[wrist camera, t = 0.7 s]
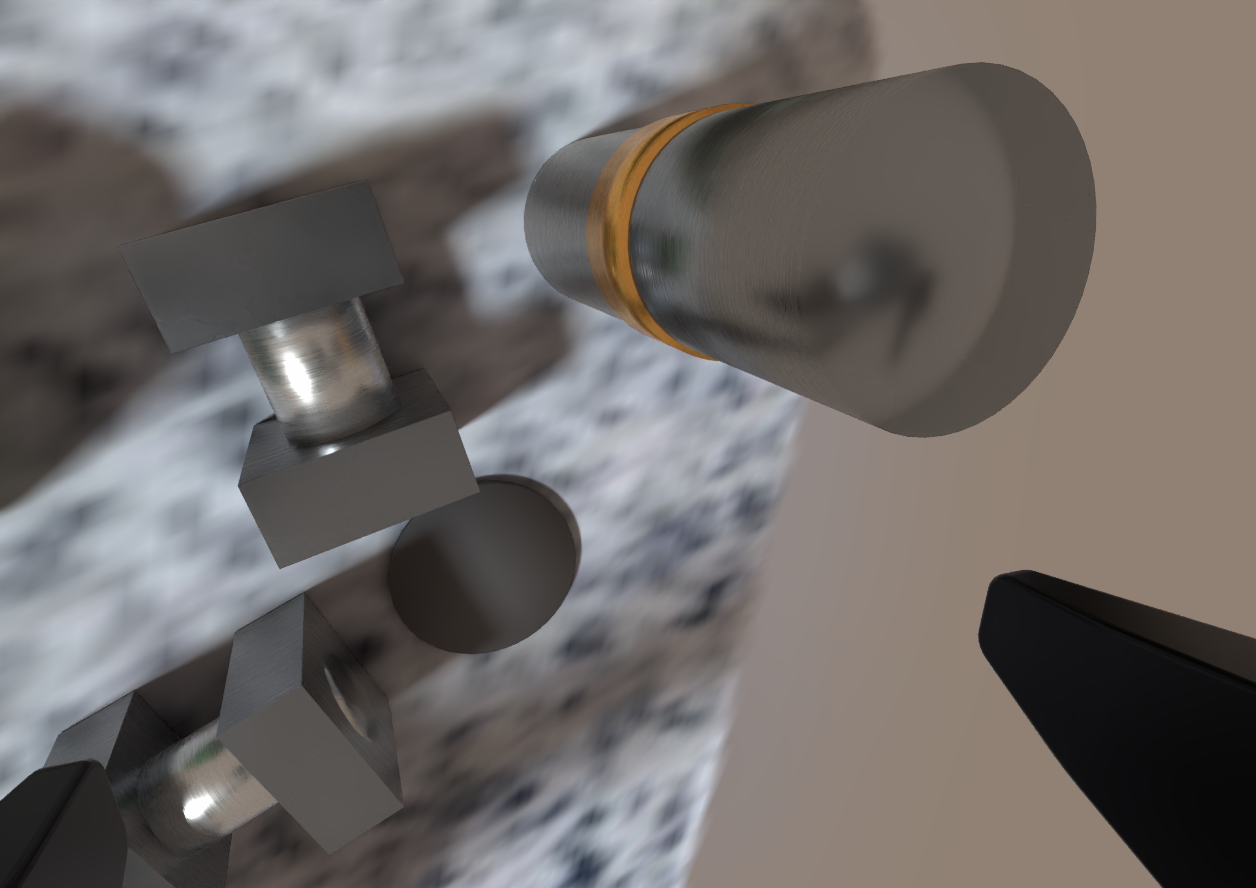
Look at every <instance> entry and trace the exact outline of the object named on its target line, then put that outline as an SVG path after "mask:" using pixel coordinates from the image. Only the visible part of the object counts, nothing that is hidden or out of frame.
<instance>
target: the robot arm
mask: <svg viewBox="0 0 1256 888" xmlns="http://www.w3.org/2000/svg"><path fill="white" fill-rule="evenodd" d="M978 639H979V644H980V648H981V650H982V652H983V654H984V656H985V658H986V659H987V661H988V662H989V663H990V665H991V666H992V668H993V669H994V671H995V672H996V673H997V675H998V676H999V678H1000V679H1001V680H1002V682H1003V684H1004V685H1005V686H1006V688H1007V689H1008V691H1009V692H1010V694H1011V695H1012V696H1013V698H1014V699H1015V701H1016V702H1017V703H1018V705H1019V706H1020V708H1021V709H1022V711H1023V712H1024V713H1025V715H1026V716H1027V718H1028V719H1029V721H1030V722H1031V724H1032V725H1033V726H1034V728H1035V729H1036V731H1037V732H1038V734H1039V735H1040V736H1041V738H1042V739H1043V741H1044V742H1045V744H1046V745H1047V746H1048V748H1049V749H1050V751H1051V752H1052V753H1053V755H1054V756H1055V758H1056V759H1057V760H1058V762H1059V763H1060V764H1061V766H1062V767H1063V768H1064V770H1065V771H1066V772H1067V774H1068V775H1069V776H1070V777H1071V779H1072V780H1073V781H1074V782H1075V784H1076V785H1077V786H1078V787H1079V789H1080V790H1081V791H1082V792H1083V793H1084V795H1085V796H1086V797H1087V798H1088V799H1089V801H1090V802H1091V803H1092V804H1093V806H1094V807H1095V808H1096V809H1097V810H1098V812H1099V813H1100V814H1101V815H1102V816H1103V818H1104V819H1105V820H1106V821H1107V822H1108V824H1109V825H1111V827H1112V828H1113V829H1114V831H1115V832H1116V833H1117V834H1118V836H1119V837H1120V838H1121V839H1122V840H1123V842H1124V843H1125V844H1126V845H1127V846H1128V848H1129V849H1130V850H1131V851H1132V852H1133V853H1134V855H1135V856H1136V857H1137V858H1138V860H1139V861H1140V862H1141V863H1142V864H1143V866H1144V867H1145V868H1146V869H1147V870H1148V872H1149V873H1150V874H1151V875H1152V876H1153V878H1154V879H1155V880H1156V881H1157V882H1158V884H1159V885H1160V886H1161V887H1162V888H1256V639H1255V638H1252V637H1249V636H1245V635H1242V634H1238V633H1236V632H1232V631H1229V630H1225V629H1222V628H1219V627H1216V626H1213V625H1209V624H1206V623H1202V622H1199V621H1196V620H1193V619H1190V618H1186V617H1183V616H1180V615H1177V614H1173V613H1170V612H1167V611H1164V610H1160V609H1157V608H1154V607H1150V606H1147V605H1144V604H1141V603H1137V602H1134V601H1131V600H1128V599H1124V598H1121V597H1118V596H1114V595H1111V594H1108V593H1105V592H1101V591H1098V590H1095V589H1091V588H1088V587H1085V586H1082V585H1079V584H1075V583H1072V582H1068V581H1065V580H1062V579H1059V578H1056V577H1052V576H1049V575H1046V574H1043V573H1039V572H1036V571H1032V570H1020V571H1015V572H1010V573H1005V574H1000V575H998V576H996V577H995V578H994V579H993V580H992V581H991V583H990V584H989V587H988V591H987V596H986V601H985V605H984V609H983V614H982V618H981V623H980V627H979V633H978ZM127 853H128V837H127V830H126V826H125V823H124V820H123V817H122V815H121V812H120V809H119V806H118V804H117V801H116V798H115V795H114V793H113V790H112V787H111V784H110V782H109V779H108V776H107V773H106V771H105V769H104V767H103V766H102V764H101V763H100V762H99V761H98V760H95V759H91V758H86V759H81V760H76V761H71V762H66V763H61V764H56V765H51V766H47V767H44V768H41V769H38V770H37V771H35V772H33V773H32V774H31V775H29V776H28V777H27V778H26V779H25V780H23V781H22V782H21V783H20V784H19V785H18V786H17V787H15V788H14V789H13V790H12V791H11V792H10V793H9V794H7V795H6V796H5V797H4V798H3V799H2V800H1V801H0V888H122V885H123V879H124V873H125V867H126V861H127Z"/></svg>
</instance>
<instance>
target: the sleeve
mask: <svg viewBox="0 0 1256 888" xmlns="http://www.w3.org/2000/svg"><path fill="white" fill-rule="evenodd" d="M524 230H525V237H526V242H527V246H528V250H529V252H530V255H531V257H532V260H533V262H534V263H535V265H536V267H537V269H538V270H539V272H540V273H541V275H542V276H543V277H544V279H545V280H546V281H547V282H548V283H549V284H550V285H551V286H552V287H554V288H555V289H556V290H557V291H559V292H560V293H562V294H563V295H565V296H567V297H568V298H571V299H573V300H575V301H578V302H580V303H582V304H585V305H587V306H590V307H592V308H594V309H597V310H599V311H602V312H604V313H606V314H609V315H611V316H613V317H616V318H618V319H621V320H623V321H624V322H626V323H627V324H628V325H629V326H631V327H632V328H634V329H635V330H637V331H639V332H640V333H642V334H644V335H646V336H649V337H651V338H653V339H656V340H658V341H660V342H662V343H665V344H667V345H669V346H672V347H674V348H676V349H679V350H681V351H683V352H686V353H688V354H690V355H693V356H695V357H699V358H703V359H707V360H713V361H721V362H723V363H726V364H728V365H730V366H733V367H735V368H737V369H740V370H742V371H745V372H747V373H749V374H752V375H754V376H757V377H759V378H761V379H764V380H766V381H768V382H771V383H773V384H776V385H778V386H780V387H783V388H785V389H788V390H790V391H792V392H795V393H797V394H799V395H802V396H804V397H807V398H809V399H811V400H814V401H816V402H819V403H821V404H823V405H826V406H828V407H830V408H833V409H835V410H838V411H840V412H843V413H845V414H847V415H850V416H852V417H855V418H857V419H859V420H862V421H864V422H866V423H869V424H871V425H873V426H876V427H878V428H881V429H883V430H885V431H888V432H890V433H894V434H899V435H903V436H907V437H925V438H926V437H935V436H943V435H947V434H951V433H954V432H959V431H962V430H964V429H966V428H969V427H971V426H974V425H976V424H978V423H980V422H982V421H984V420H985V419H987V418H989V417H991V416H992V415H994V414H996V413H997V412H998V411H1000V410H1001V409H1002V408H1004V407H1005V406H1006V405H1008V404H1009V403H1010V402H1012V400H1014V399H1015V398H1016V397H1017V396H1018V395H1019V394H1020V393H1021V392H1023V391H1024V390H1025V389H1026V388H1027V387H1028V385H1029V384H1030V383H1031V382H1032V381H1033V380H1034V378H1036V376H1037V375H1038V374H1039V373H1040V372H1041V371H1042V369H1043V368H1044V366H1045V365H1046V363H1047V362H1048V361H1049V360H1050V358H1051V357H1052V356H1053V354H1054V352H1055V351H1056V349H1057V347H1058V346H1059V344H1060V343H1061V341H1062V339H1063V337H1064V336H1065V334H1066V332H1067V330H1068V328H1069V326H1070V324H1071V321H1072V320H1073V318H1074V315H1075V313H1076V310H1077V308H1078V305H1079V302H1080V300H1081V297H1082V295H1083V291H1084V288H1085V284H1086V281H1087V278H1088V274H1089V269H1090V264H1091V260H1092V255H1093V249H1094V240H1095V231H1096V198H1095V185H1094V179H1093V174H1092V169H1091V163H1090V159H1089V156H1088V153H1087V150H1086V147H1085V143H1084V141H1083V139H1082V136H1081V134H1080V132H1079V130H1078V128H1077V126H1076V124H1075V122H1074V120H1073V119H1072V117H1071V116H1070V114H1069V112H1068V111H1067V109H1066V108H1065V106H1064V105H1063V104H1062V103H1061V102H1060V101H1059V99H1058V98H1057V97H1056V96H1055V95H1054V94H1053V93H1052V92H1051V91H1050V90H1049V89H1048V88H1046V87H1045V86H1044V85H1043V84H1042V83H1040V82H1039V81H1038V80H1036V79H1035V78H1033V77H1031V76H1029V75H1027V74H1025V73H1024V72H1022V71H1020V70H1017V69H1014V68H1011V67H1007V66H1004V65H1000V64H991V63H982V62H981V63H967V64H959V65H953V66H948V67H943V68H938V69H933V70H928V71H923V72H918V73H913V74H908V75H903V76H898V77H893V78H888V79H882V80H877V81H872V82H867V83H862V84H857V85H852V86H847V87H842V88H837V89H832V90H827V91H822V92H817V93H812V94H807V95H802V96H797V97H792V98H787V99H782V100H776V101H771V102H766V103H761V104H756V105H755V104H744V103H736V104H724V105H720V106H715V107H710V108H706V109H701V110H696V111H692V112H687V113H682V114H678V115H673V116H669V117H665V118H662V119H659V120H657V121H655V122H652V123H650V124H648V125H646V126H645V127H640V128H635V129H630V130H625V131H620V132H615V133H610V134H605V135H600V136H595V137H590V138H586V139H581V140H578V141H576V142H573V143H571V144H568V145H567V146H565V147H563V148H562V149H560V150H559V151H557V152H556V153H555V154H554V155H553V156H551V157H550V158H549V159H548V161H547V162H546V163H545V164H544V165H543V166H542V168H541V169H540V170H539V172H538V173H537V175H536V177H535V179H534V181H533V183H532V185H531V187H530V190H529V193H528V196H527V200H526V205H525V213H524Z"/></svg>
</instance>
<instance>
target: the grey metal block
mask: <svg viewBox="0 0 1256 888" xmlns="http://www.w3.org/2000/svg"><path fill="white" fill-rule="evenodd" d="M86 758H91V759H95V760H98V761H99V762H100V763H101V764H102V766H103V767H104V769H105V771H106V773H107V776H108V779H109V782H110V784H111V787H112V790H113V793H114V795H115V798H116V801H117V804H118V806H119V809H120V812H121V815H122V817H123V820H124V823H125V826H126V830H127V837H128V853H127V861H126V867H125V873H124V879H123V885H122V888H225V883H226V875H227V867H228V860H229V852H230V844H231V837H232V832H233V831H235V830H236V829H238V828H239V827H241V826H242V825H244V824H246V823H247V822H249V821H250V820H252V819H254V818H255V817H257V816H258V815H260V814H262V813H263V812H265V811H266V810H268V809H270V808H271V807H273V806H274V805H276V804H277V803H280V804H281V806H282V807H283V808H284V809H285V810H286V811H287V812H288V813H289V814H290V815H291V816H292V817H293V818H294V819H295V820H296V821H297V822H298V823H299V824H300V825H301V826H302V827H303V829H304V830H305V831H306V832H307V833H308V834H309V835H310V836H311V837H312V838H313V839H314V840H315V841H316V842H317V843H318V844H319V845H320V846H321V847H322V848H323V849H324V850H325V852H326V853H327V854H328V855H331V854H333V853H334V852H336V851H337V850H339V849H340V848H342V847H343V846H345V845H346V844H348V843H349V842H351V841H353V840H354V839H356V838H357V837H359V836H360V835H362V834H363V833H365V832H366V831H368V830H369V829H371V828H373V827H374V826H376V825H377V824H379V823H380V822H382V821H383V820H385V819H386V818H388V817H389V816H391V815H392V814H394V813H396V812H397V811H399V810H400V809H402V808H403V807H404V803H403V796H402V789H401V782H400V775H399V768H398V761H397V754H396V746H395V739H394V732H393V725H392V718H391V711H390V704H389V700H388V699H387V698H386V696H385V695H384V694H383V693H382V691H381V690H380V689H379V687H378V686H377V685H376V684H375V682H374V681H373V680H372V679H371V677H370V676H369V675H368V673H367V672H366V671H365V670H364V668H363V667H362V666H361V664H360V663H359V662H358V661H357V659H356V658H355V657H354V655H353V654H352V653H351V652H350V650H349V649H348V648H347V647H346V645H345V644H344V643H343V641H342V640H341V639H340V638H339V636H338V635H337V634H336V632H335V631H334V630H333V629H332V627H331V626H330V625H329V624H328V622H327V621H326V620H325V618H324V617H323V616H322V615H321V613H320V612H319V611H318V609H317V608H316V607H315V606H314V604H313V603H312V602H311V600H310V599H309V598H308V597H307V595H306V594H305V593H302V594H301V595H299V596H297V597H295V598H294V599H292V600H290V601H289V602H287V603H285V604H283V605H282V606H280V607H278V608H276V609H275V610H273V611H271V612H270V613H268V614H266V615H264V616H263V617H261V618H259V619H257V620H256V621H254V622H252V623H251V624H249V625H247V626H245V627H244V628H242V629H240V630H238V631H237V632H235V635H234V641H233V646H232V652H231V657H230V663H229V668H228V673H227V679H226V684H225V690H224V695H223V701H222V706H221V711H220V717H218V718H217V719H215V720H213V721H212V722H210V723H208V724H207V725H205V726H203V727H202V728H200V729H198V730H197V731H195V732H193V733H192V734H190V735H188V736H187V737H185V738H183V739H181V738H180V737H179V736H178V735H177V734H176V733H175V732H174V731H173V730H172V729H171V728H170V727H169V726H168V725H167V724H166V723H165V722H164V721H163V720H162V719H161V718H160V717H159V716H158V715H157V714H156V713H155V712H154V711H153V710H152V709H151V708H150V707H149V706H148V705H147V704H146V703H145V702H144V701H143V700H142V699H141V698H140V697H139V696H138V695H137V694H136V693H135V691H133V692H131V693H130V694H128V695H126V696H125V697H123V698H121V699H119V700H118V701H116V702H114V703H112V704H111V705H109V706H107V707H106V708H104V709H102V710H100V711H99V712H97V713H95V714H93V715H92V716H90V717H88V718H87V719H85V720H83V721H81V722H80V723H78V724H76V725H74V726H73V727H71V728H69V729H68V730H66V731H64V732H62V733H61V734H59V735H58V737H57V739H56V741H55V743H54V746H53V748H52V750H51V752H50V754H49V756H48V758H47V760H46V762H45V765H44V767H47V766H51V765H56V764H61V763H66V762H71V761H76V760H81V759H86ZM44 767H43V768H44Z"/></svg>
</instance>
